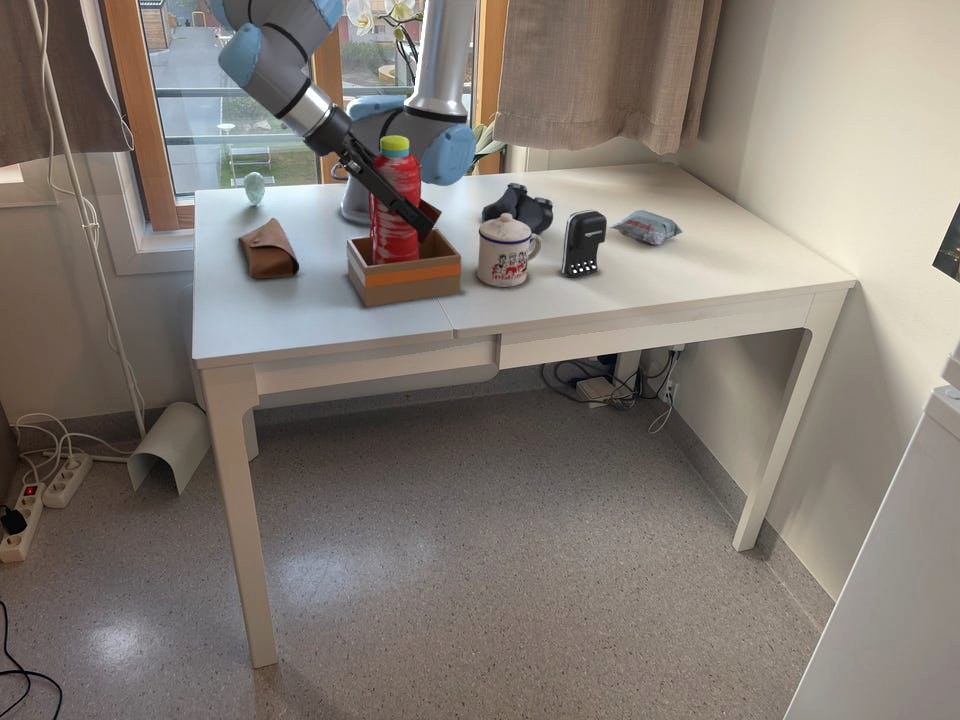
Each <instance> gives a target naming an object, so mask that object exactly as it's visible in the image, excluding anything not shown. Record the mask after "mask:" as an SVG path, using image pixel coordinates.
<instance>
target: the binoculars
mask: <svg viewBox="0 0 960 720" xmlns="http://www.w3.org/2000/svg"><path fill="white" fill-rule="evenodd" d="M553 203H554V202H552V200H550V199H548V198H544V197H538V196H537V197H535V196H534V198H533V197H532V196H529V195H528V187H526V185H523V184H520V183H516V182H509V184H507V188H506V190H504V193H503V195H502V196H501V197H500V198H499V199H497V200H496V201H494V202H493V203H490V204H488V205H485V206H484V207H483V208H482V211H481V220H482V221H483V223H484V222H486V221H489V220H493V219H497V218H500V217H501V215H502V214H503V213H509V214H511V215H512V219H515V220H516V221H520V222H522V223H524V224H526V225H527V226H528V227H529V228H530V230H531V233H532V234H536V235H538V236H539V237H540V235H541V234H542V233H543V232H545V231H547V230H548V229H549V228H550V227H551V225H552V224H553V220H554V212H553V207H554V205H553ZM534 240H535V239H530V243H529V244H531V243H532V242H533V241H534Z"/></svg>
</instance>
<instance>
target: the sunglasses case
mask: <svg viewBox="0 0 960 720" xmlns="http://www.w3.org/2000/svg"><path fill="white" fill-rule="evenodd" d="M237 240H238V242H239V243H240V244H241V246H242V248H243V251H244V254H245V256H246V260H247V263H248V269H249V277H250V278H253V279H278V278H279V279H280V278H288V277H294V276H295V275H296V274H298V272H299V270H300V264H299V262H298V259H297V255H296V254H295V252H294V249H293V246H292V244H291V243H290V240H289V238H288V236H287V234H286V232H285V230H284V229H283V227H282V225H281V223H280V221H279V220H278V219H276V218H275V217H271V218H270V219H269V220H268V221H267V222H266V223H264V224H262V225H260V226H258V227H257V228H255V229H253V230H251V231H249V232H248V233H245V234H244V235H242V236H239V237H238V238H237Z"/></svg>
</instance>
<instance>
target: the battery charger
mask: <svg viewBox="0 0 960 720" xmlns="http://www.w3.org/2000/svg"><path fill="white" fill-rule="evenodd" d="M607 221H608V220H607V218H606V216H605V215H604V214H602V213H600V212H599V211H598V210H596V209H588V210H581V211H577V212H573V213H571V214H570V215H569V216H568V218H567V219H566V225H565V232H564V241H563V253H562V254H563V255H562V264H561V270H560V271H561V272H562V273H561V274H563V275H566V276H567V277H571V278H577V277H584V276H587V275H590V274H595V273H596V272H597V271H598V261H597V260H598V259H597V258H598V250H599V245H600V244H603V243H605V241H606V234H607V226H608V222H607Z"/></svg>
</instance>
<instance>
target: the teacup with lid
mask: <svg viewBox="0 0 960 720" xmlns="http://www.w3.org/2000/svg"><path fill="white" fill-rule="evenodd" d="M478 235H479V241H478V242H479V243H478V244H479V245H478V258H477V260H478V262H477V277H478V279H480V281H481V282H483V283H485V284H487V285H489V286H493V287H498V288H510V287H515V286H516V287H517V286H519V285H521V284H523V283H524V282H525V281H526V279H527V272H528V262H530V261H533V260H534V259H535V258H536V257H537V256H538V254H539V253H540V251H541V249H542V246H543V245H542V244H543V243H542V242H543V241H542V238H541V237H540V235H539V236H538V235H536V234H532V233H531V230H530V228H529V227H528V226H527V225H526V224H524V223H522V222H520V221H516V220H515V219H512V215H511V214H509V213H503V214H502V215H501V217H500V218H497V219H493V220H489V221H486V222H484V221H483V223H482V224H481V225H480V226H479V229H478ZM530 239H534V240H535V245H534V248H533V250H532V251H531V252H530V244H531V243H530ZM529 252H530V253H529Z"/></svg>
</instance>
